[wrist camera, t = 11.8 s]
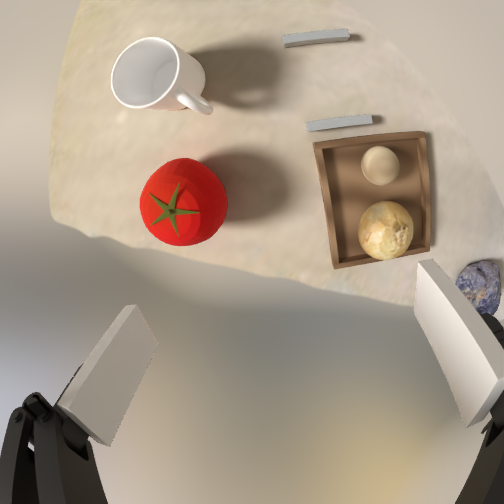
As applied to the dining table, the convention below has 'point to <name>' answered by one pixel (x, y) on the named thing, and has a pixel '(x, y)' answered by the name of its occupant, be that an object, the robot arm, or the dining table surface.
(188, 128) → the dining table surface
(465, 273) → the rock
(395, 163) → the ball
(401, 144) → the tray
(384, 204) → the onion
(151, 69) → the cup
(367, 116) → the cradle
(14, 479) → the robot arm
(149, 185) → the tomato
